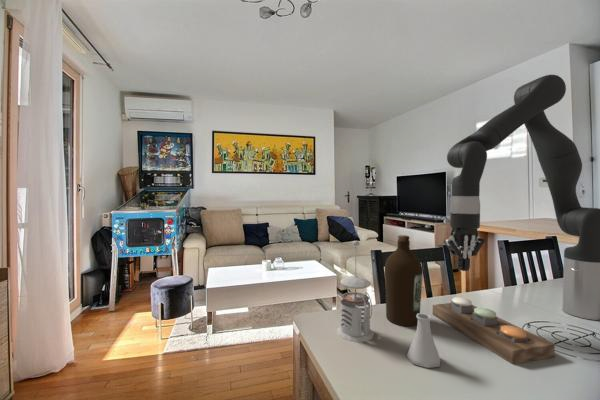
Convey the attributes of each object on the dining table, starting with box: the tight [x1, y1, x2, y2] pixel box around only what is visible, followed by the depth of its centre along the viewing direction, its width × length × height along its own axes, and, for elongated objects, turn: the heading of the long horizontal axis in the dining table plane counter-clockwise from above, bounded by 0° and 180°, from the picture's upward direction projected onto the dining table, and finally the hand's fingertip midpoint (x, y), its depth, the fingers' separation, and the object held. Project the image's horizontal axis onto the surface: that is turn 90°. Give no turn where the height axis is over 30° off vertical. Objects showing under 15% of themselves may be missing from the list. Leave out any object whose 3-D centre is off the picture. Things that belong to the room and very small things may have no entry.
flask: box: [406, 312, 441, 369], centre depth 64 cm, size 7×7×10 cm
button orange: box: [499, 325, 528, 343], centre depth 69 cm, size 5×5×4 cm
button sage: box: [472, 307, 498, 327], centre depth 77 cm, size 5×5×4 cm
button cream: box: [450, 296, 473, 314], centre depth 84 cm, size 5×5×4 cm
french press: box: [336, 240, 374, 343], centre depth 76 cm, size 10×12×25 cm
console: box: [432, 302, 556, 365], centre depth 77 cm, size 12×26×3 cm, turn 13°
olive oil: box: [384, 234, 424, 327], centre depth 84 cm, size 11×11×25 cm
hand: (463, 270), depth 83 cm, fingers closed
